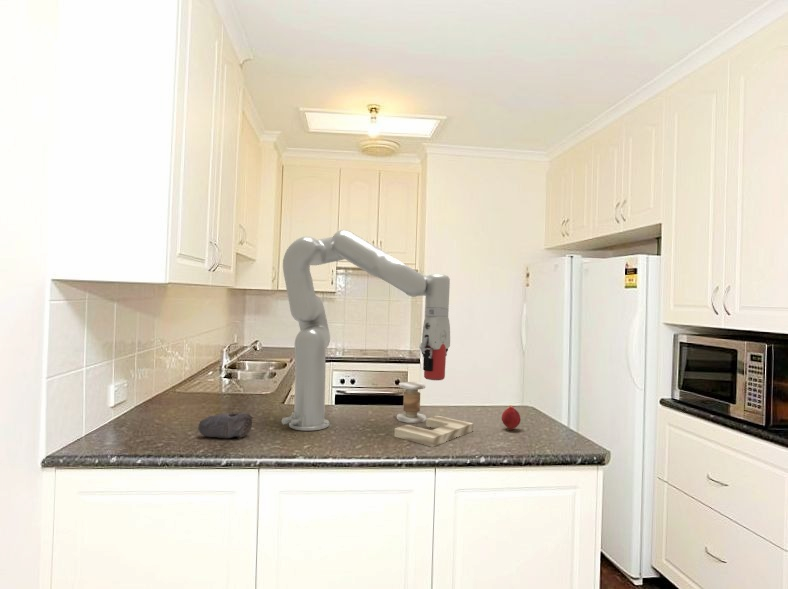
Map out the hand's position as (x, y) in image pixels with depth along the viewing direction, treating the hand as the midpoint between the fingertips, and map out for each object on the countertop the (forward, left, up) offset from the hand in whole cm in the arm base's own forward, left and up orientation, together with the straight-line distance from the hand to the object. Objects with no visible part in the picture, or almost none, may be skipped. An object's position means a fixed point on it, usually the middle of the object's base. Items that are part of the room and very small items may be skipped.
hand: (434, 369), depth 153 cm
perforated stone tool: (-50, +39, -19) cm, 66 cm away
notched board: (-4, -3, -19) cm, 20 cm away
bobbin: (+5, +13, -19) cm, 23 cm away
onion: (+17, -18, -19) cm, 32 cm away
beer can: (0, 0, -3) cm, 3 cm away
